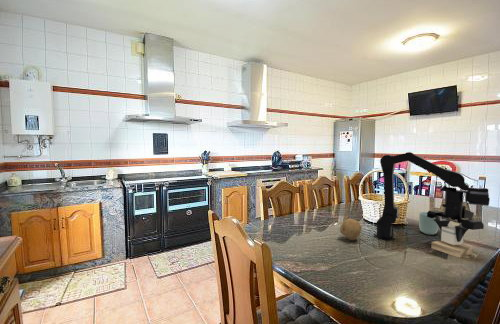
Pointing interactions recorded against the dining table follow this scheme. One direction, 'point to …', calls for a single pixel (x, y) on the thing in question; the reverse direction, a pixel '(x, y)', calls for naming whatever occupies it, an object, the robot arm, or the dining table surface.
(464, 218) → the robot arm
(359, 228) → the natural sponge
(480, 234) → the dining table surface
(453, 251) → the oak block
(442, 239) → the white lidded box
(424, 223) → the cup
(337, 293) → the dining table surface
